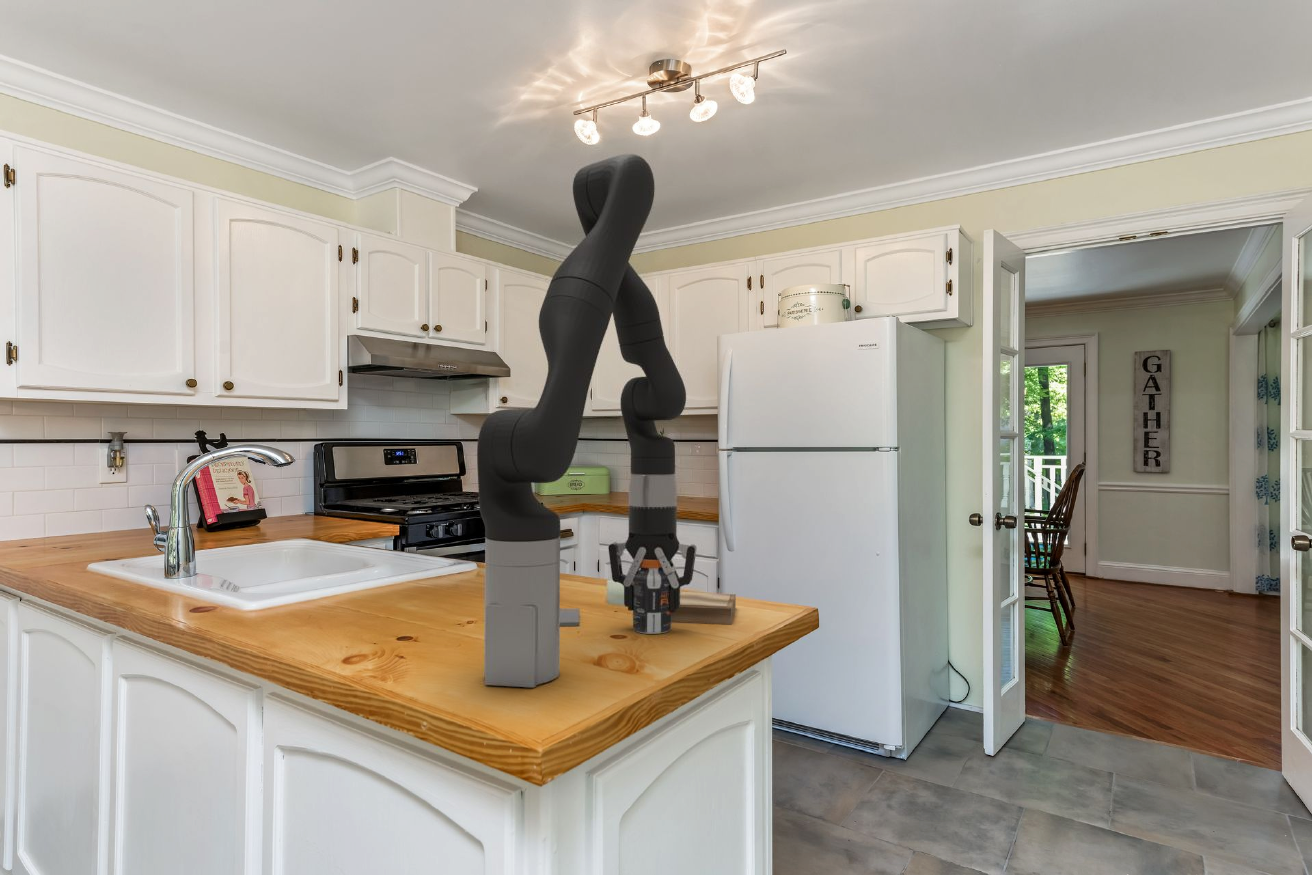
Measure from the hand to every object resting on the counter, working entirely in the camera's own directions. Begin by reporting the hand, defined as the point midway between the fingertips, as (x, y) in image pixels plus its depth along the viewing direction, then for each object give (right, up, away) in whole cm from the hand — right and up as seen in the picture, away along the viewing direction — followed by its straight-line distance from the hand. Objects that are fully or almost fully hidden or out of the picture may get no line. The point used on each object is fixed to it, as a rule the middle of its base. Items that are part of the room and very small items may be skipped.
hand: (652, 610), depth 116 cm
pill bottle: (0, -3, 0) cm, 3 cm away
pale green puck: (-4, -4, +22) cm, 23 cm away
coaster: (-17, -3, +7) cm, 19 cm away
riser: (+8, -3, +11) cm, 14 cm away
